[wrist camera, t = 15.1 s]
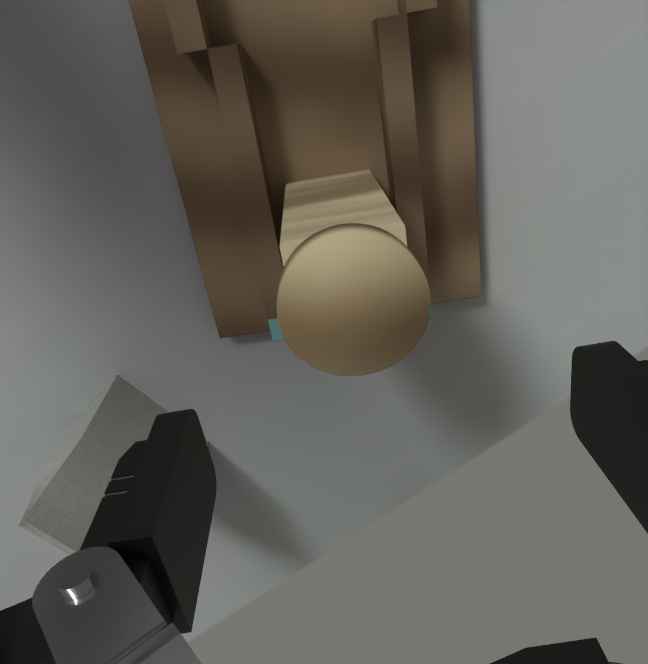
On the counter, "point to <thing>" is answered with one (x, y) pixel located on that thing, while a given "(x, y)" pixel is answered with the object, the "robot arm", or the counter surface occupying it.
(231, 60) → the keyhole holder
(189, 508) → the robot arm
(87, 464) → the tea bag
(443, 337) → the counter surface
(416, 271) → the maple peg
